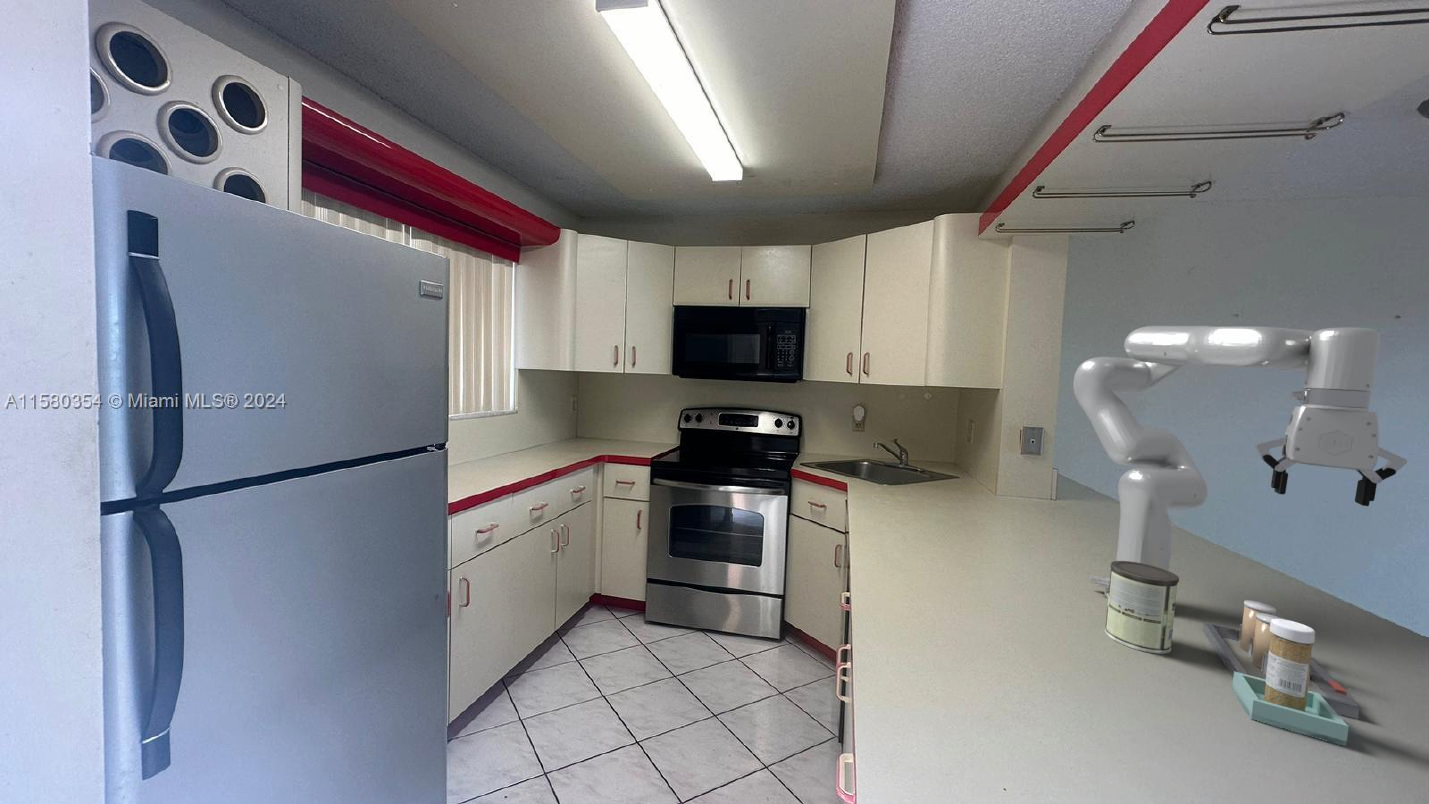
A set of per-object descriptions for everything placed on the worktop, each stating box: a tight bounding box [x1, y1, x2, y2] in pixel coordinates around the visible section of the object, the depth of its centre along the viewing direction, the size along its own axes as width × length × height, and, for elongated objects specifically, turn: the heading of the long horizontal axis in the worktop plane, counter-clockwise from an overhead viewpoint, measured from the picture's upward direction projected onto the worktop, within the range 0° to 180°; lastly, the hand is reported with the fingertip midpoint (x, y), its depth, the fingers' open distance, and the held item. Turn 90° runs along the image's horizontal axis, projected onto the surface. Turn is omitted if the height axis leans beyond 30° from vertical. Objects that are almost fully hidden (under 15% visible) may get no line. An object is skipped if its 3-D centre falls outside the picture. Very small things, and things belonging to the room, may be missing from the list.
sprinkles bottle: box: [1263, 618, 1316, 712], centre depth 80 cm, size 5×5×13 cm
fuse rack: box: [1202, 621, 1360, 720], centre depth 94 cm, size 13×24×4 cm, turn 147°
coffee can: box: [1104, 560, 1180, 655], centre depth 102 cm, size 10×10×14 cm
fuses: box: [1239, 599, 1286, 669], centre depth 97 cm, size 4×11×9 cm, turn 147°
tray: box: [1231, 671, 1349, 748], centre depth 80 cm, size 10×10×3 cm
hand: (1319, 498), depth 90 cm, fingers open, 9 cm apart
